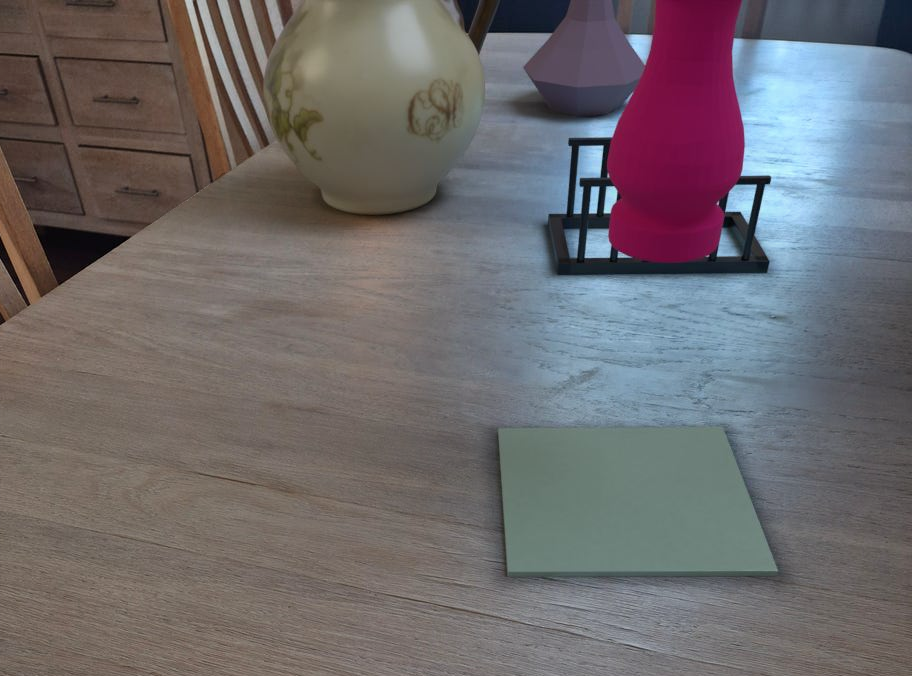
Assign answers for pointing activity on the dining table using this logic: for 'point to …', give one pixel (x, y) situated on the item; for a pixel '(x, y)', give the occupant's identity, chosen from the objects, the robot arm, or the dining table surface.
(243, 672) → the dining table surface
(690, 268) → the rack
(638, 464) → the tile
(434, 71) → the pitcher
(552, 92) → the mauve faceted vase
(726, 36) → the pepper mill
